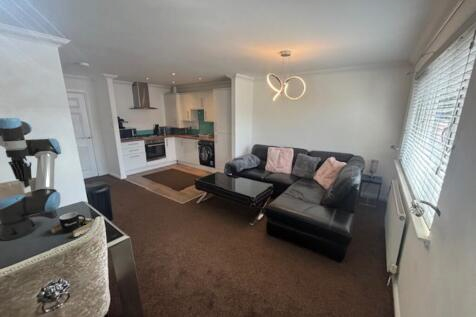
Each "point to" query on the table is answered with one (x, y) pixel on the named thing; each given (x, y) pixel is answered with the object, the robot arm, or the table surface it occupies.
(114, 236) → the table surface
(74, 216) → the mug
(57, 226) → the bay
